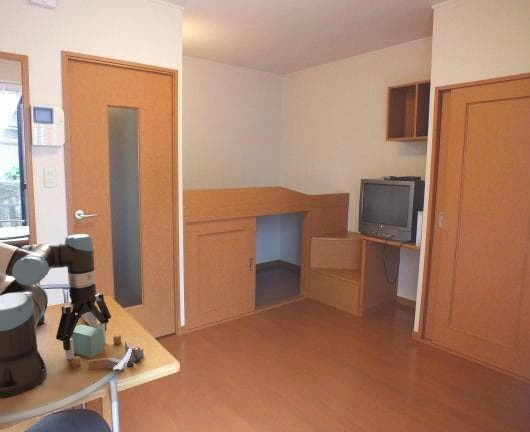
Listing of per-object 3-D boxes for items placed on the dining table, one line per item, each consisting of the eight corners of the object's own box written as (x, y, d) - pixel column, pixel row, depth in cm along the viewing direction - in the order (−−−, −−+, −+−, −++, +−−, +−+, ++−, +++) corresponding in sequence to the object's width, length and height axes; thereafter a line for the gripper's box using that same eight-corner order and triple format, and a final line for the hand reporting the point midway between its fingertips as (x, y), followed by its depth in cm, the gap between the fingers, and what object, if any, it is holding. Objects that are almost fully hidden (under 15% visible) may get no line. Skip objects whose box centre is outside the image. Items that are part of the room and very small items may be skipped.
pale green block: (91, 357, 121) (90, 336, 120) (68, 351, 125) (67, 330, 124) (104, 350, 125) (103, 329, 124) (82, 344, 129) (80, 324, 128)
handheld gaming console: (88, 319, 154) (97, 327, 142) (80, 321, 153) (89, 329, 141) (85, 291, 154) (95, 297, 142) (77, 293, 152) (86, 298, 140)
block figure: (108, 378, 109) (108, 370, 109) (70, 366, 115) (69, 359, 115) (153, 349, 126) (152, 342, 125) (117, 340, 132) (117, 334, 131)
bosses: (130, 368, 114) (129, 355, 114) (125, 366, 115) (124, 354, 115) (142, 360, 119) (141, 348, 118) (137, 359, 120) (136, 346, 119)
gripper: (56, 298, 110) (62, 370, 113) (120, 275, 131) (123, 336, 134) (38, 294, 113) (44, 365, 116) (103, 272, 134) (107, 332, 137)
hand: (86, 350), depth 125 cm, fingers open, 12 cm apart
